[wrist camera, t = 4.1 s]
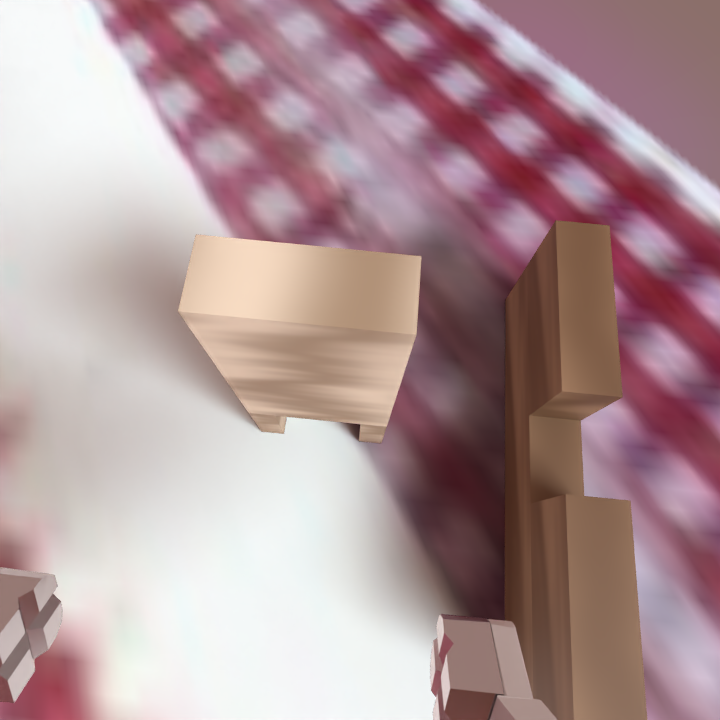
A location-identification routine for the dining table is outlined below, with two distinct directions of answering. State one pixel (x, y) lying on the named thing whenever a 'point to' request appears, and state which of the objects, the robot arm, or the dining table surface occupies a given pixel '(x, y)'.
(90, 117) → the dining table surface
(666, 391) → the dining table surface
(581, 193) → the dining table surface
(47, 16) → the dining table surface
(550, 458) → the walnut slotted plate
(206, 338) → the ash slotted plate
